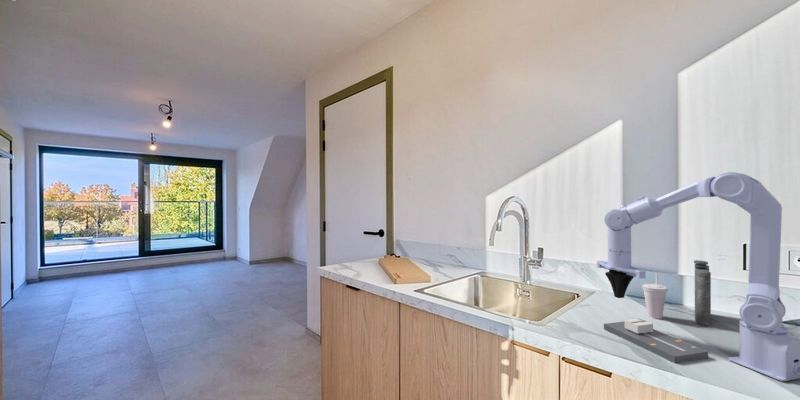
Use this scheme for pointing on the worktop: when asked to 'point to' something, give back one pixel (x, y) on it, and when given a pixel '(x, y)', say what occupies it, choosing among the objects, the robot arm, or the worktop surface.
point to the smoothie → (655, 299)
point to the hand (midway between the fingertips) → (619, 297)
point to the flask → (702, 293)
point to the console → (659, 343)
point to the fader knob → (638, 326)
